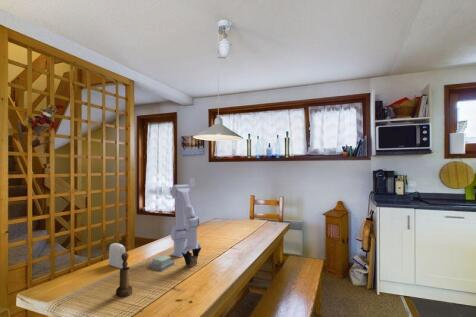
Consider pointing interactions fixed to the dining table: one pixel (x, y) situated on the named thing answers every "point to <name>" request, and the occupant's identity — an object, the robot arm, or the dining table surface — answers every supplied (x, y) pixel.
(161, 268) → the tower base slab
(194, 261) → the walnut cube
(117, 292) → the mortar and pestle
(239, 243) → the dining table surface
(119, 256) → the photo printer
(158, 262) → the tower top slab
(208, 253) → the dining table surface
